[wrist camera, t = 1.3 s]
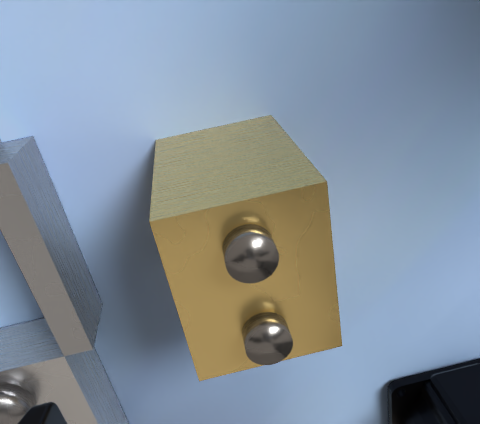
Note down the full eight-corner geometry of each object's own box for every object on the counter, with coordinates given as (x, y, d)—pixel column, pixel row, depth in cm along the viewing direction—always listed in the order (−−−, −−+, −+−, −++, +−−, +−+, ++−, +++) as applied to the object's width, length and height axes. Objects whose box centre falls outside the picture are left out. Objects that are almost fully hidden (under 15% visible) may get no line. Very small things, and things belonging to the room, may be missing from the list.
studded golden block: (288, 237, 17) (350, 362, 12) (189, 260, 17) (200, 399, 11) (270, 114, 15) (335, 192, 9) (155, 139, 15) (148, 234, 9)
